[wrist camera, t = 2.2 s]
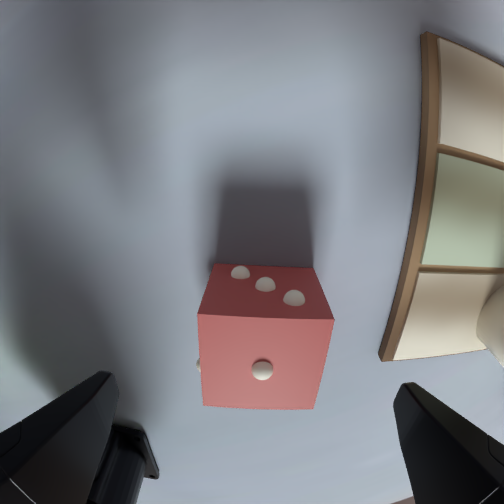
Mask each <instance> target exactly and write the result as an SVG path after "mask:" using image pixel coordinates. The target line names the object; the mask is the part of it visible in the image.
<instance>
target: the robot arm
mask: <svg viewBox="0 0 504 504" xmlns="http://www.w3.org/2000/svg"><path fill="white" fill-rule="evenodd" d="M118 397H119V391H118V387H117V384H116V380H115V377H114V375H113V373H111V372H107V371H99V372H97V373H96V374H94V375H93V376H91V377H89V378H88V379H86V380H85V381H83V382H82V383H80V384H78V385H77V386H75V387H74V388H72V389H71V390H69V391H67V392H66V393H64V394H63V395H61V396H60V397H58V398H56V399H55V400H53V401H52V402H50V403H48V404H47V405H45V406H44V407H42V408H41V409H39V410H37V411H36V412H34V413H33V414H31V415H29V416H28V417H26V418H25V419H23V420H22V422H21V421H20V422H18V423H16V424H15V425H13V426H11V427H10V428H8V429H6V430H4V431H3V432H1V433H0V504H136V502H137V499H138V495H139V492H140V488H141V484H142V481H143V477H146V478H151V479H158V478H159V471H158V469H157V466H156V464H155V461H154V458H153V456H152V453H151V450H150V447H149V444H148V442H147V439H146V436H145V434H144V433H142V432H140V431H138V430H133V429H128V428H124V427H119V426H115V425H112V422H113V417H114V413H115V409H116V405H117V401H118ZM393 408H394V413H395V419H396V424H397V430H398V436H399V441H400V446H401V450H402V453H403V457H404V461H405V464H406V468H407V472H408V475H409V479H410V483H411V487H412V491H413V495H414V499H415V504H504V445H503V444H501V443H500V442H498V441H497V440H495V439H494V438H492V437H491V436H490V435H487V433H485V432H484V431H482V430H481V429H480V428H478V427H477V426H475V425H474V424H472V423H471V422H470V421H468V420H467V419H465V418H464V417H462V416H461V415H460V414H458V413H457V412H455V411H454V410H453V409H451V408H450V407H448V406H447V405H446V404H444V403H443V402H441V401H440V400H438V399H437V398H436V397H434V396H433V395H431V394H430V393H429V392H427V391H426V390H424V389H423V388H422V387H420V386H419V385H417V384H416V383H414V382H409V383H403V384H402V385H401V386H400V388H399V391H398V393H397V395H396V397H395V399H394V403H393Z"/></svg>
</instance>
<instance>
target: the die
mask: <svg viewBox="0 0 504 504" xmlns="http://www.w3.org/2000/svg"><path fill="white" fill-rule="evenodd" d="M197 317H198V337H199V355H200V358H199V359H198V360H197V363H196V366H197V369H198V370H199V371H200V372H201V384H202V396H203V405H204V406H215V407H228V408H245V409H280V410H294V409H313V408H314V404H315V401H316V397H317V393H318V389H319V385H320V381H321V377H322V373H323V369H324V365H325V361H326V357H327V352H328V348H329V343H330V339H331V334H332V329H333V325H334V320H335V319H334V317H333V314H332V312H331V309H330V307H329V304H328V302H327V300H326V297H325V295H324V292H323V290H322V287H321V285H320V282H319V280H318V278H317V275H316V273H315V271H314V268H300V267H279V266H258V265H238V264H219V263H214V266H213V269H212V272H211V275H210V278H209V281H208V284H207V287H206V289H205V292H204V295H203V297H202V301H201V304H200V307H199V310H198V313H197Z"/></svg>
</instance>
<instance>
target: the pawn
mask: <svg viewBox="0 0 504 504" xmlns="http://www.w3.org/2000/svg"><path fill="white" fill-rule="evenodd" d="M476 335H477V337H478V339H479V340H480V341H481V342H482V343H483V344H484V346H485V347H486V348H487V349H488V350H489V351H490V352H491V354H492V355H493V356H494V357H495V358H496V359H497V361H498V362H499V363H500V364H501V365H502V366H503V368H504V286H502V287H500V288H499V289H498V290H496V291H495V292H494V293H493V294H492V295H491V296H490V297H489V299H488V300H487V301H486V303H485V304H484V306H483V308H482V310H481V312H480V314H479V316H478V319H477V323H476Z"/></svg>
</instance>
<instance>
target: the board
mask: <svg viewBox="0 0 504 504" xmlns="http://www.w3.org/2000/svg"><path fill="white" fill-rule="evenodd" d="M420 39H421V58H422V117H421V136H420V150H419V162H418V172H417V180H416V189H415V196H414V203H413V210H412V216H411V223H410V228H409V234H408V239H407V245H406V250H405V255H404V260H403V264H402V269H401V273H400V278H399V282H398V286H397V290H396V294H395V298H394V302H393V306H392V309H391V313H390V317H389V320H388V324H387V327H386V330H385V334H384V337H383V340H382V344H381V347H380V350H379V353H378V355H379V357H380V359H381V362H385V361H398V360H410V359H420V358H429V357H438V356H446V355H453V354H460V353H467V352H473V351H479V350H485V349H487V348H486V347H485V346H484V344H483V343H482V342H481V341H480V340H479V339H478V337H477V335H476V323H477V319H478V316H479V314H480V312H481V310H482V308H483V306H484V304H485V303H486V301H487V300H488V299H489V297H490V296H491V295H492V294H493V293H494V292H495V291H496V290H498V289H499V288H500V287H502V286H504V66H502V65H501V64H499V63H497V62H495V61H493V60H491V59H489V58H487V57H485V56H483V55H481V54H479V53H477V52H475V51H473V50H471V49H469V48H467V47H464V46H462V45H460V44H458V43H455V42H453V41H450V40H448V39H446V38H443V37H440V36H438V35H435V34H433V33H430V32H427V31H426V32H425V33H423V34H421V35H420Z"/></svg>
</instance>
